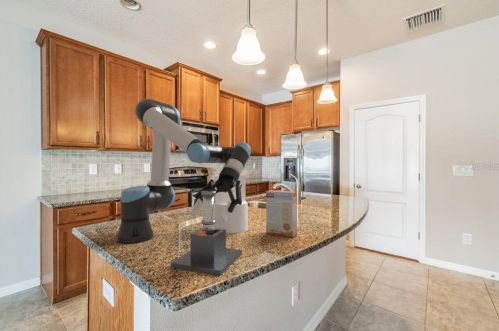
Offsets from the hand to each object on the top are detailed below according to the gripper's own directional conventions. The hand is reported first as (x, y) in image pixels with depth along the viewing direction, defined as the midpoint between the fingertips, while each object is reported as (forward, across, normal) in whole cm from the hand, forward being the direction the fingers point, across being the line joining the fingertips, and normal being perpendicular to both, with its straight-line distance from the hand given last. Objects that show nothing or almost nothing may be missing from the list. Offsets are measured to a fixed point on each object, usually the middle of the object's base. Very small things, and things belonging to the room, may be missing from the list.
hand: (207, 217), depth 80 cm
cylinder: (-17, +16, -39) cm, 45 cm away
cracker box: (-19, -11, -41) cm, 47 cm away
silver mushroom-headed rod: (+8, 0, -10) cm, 13 cm away
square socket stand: (+10, 0, -12) cm, 15 cm away
